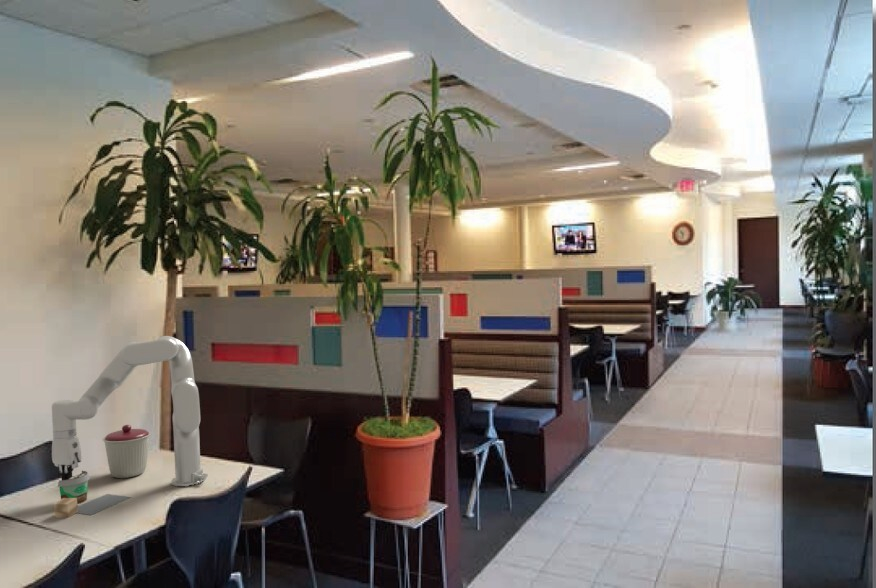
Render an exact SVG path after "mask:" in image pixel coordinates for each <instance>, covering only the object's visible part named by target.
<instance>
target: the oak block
mask: <svg viewBox="0 0 876 588" xmlns="http://www.w3.org/2000/svg"><path fill="white" fill-rule="evenodd" d="M78 506H79V504H77V498H63V499H61V498H60V500H58V501H56V502H55V503H54V504H53V509H54V516H55V518H65V519H67V518H70V517H72V516H74V515H75V514H77V512H78Z"/></svg>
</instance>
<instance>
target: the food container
mask: <svg viewBox="0 0 876 588" xmlns="http://www.w3.org/2000/svg"><path fill="white" fill-rule="evenodd" d="M90 478H91V477H90V474H89V471H87V470H81V473H80V474H77V475H72V477H70V478H68V479H67V480H62V479H61V480H58V483H57V487H59V495H60V500H61V499H63V498H77V504H78V505H79V504H80V505H81V504H83V503H84V502H86V501H87V499H88V481H89V480H90Z"/></svg>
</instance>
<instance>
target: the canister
mask: <svg viewBox="0 0 876 588" xmlns="http://www.w3.org/2000/svg"><path fill="white" fill-rule="evenodd" d="M151 434H152V433H151V432H150V431H149V430H146V429H142V428H132V426H131V424H125V425H123V426H122V427H121V430H120V429H119V430H116V431H112V432H110V433H107V434H106V436H104V437H103V438H102V441H103V442H104V446H105V452H106V457H107V458H106V459H107V464H108V469H109V472H110V475H111V476H112V477H113V478H117V479H127V478H133V477H137V476H139V475H141V474H143V473H144V472H145V471H146V468H147V466H148V465H147V463H148V455H149V444H150V443H149V441H150V440H149V439H150V436H151Z"/></svg>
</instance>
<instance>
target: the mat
mask: <svg viewBox="0 0 876 588" xmlns="http://www.w3.org/2000/svg"><path fill="white" fill-rule="evenodd" d="M131 498H133V497H132V496H126V495H117V494H110V493H106V494H104V495H101V496H99V497H97V498H94V499H92V500H89V501H87V502H85V503H84V502H83V503H81V504H80V505H79V504H78V512H77V513H76V514H77V515H83V516H84V515H85V516H92V515H95V514H97V513H100V512H102V511H104V510H106V509H108V508H112V507H113V506H116V505H118V504H121V503H122V502H125V501H127V500H130V499H131Z"/></svg>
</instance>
